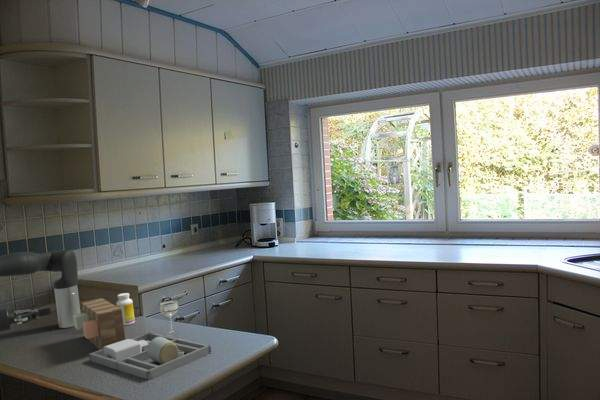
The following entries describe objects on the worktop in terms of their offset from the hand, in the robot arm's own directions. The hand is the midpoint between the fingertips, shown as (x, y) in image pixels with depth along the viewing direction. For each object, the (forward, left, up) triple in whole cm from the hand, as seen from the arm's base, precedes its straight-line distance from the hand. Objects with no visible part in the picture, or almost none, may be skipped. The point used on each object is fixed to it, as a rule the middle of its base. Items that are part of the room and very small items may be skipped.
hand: (50, 310), depth 175 cm
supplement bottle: (-17, +38, -18) cm, 45 cm away
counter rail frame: (+30, +18, -18) cm, 39 cm away
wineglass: (+15, +38, -18) cm, 44 cm away
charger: (+21, +17, -18) cm, 32 cm away
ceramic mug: (+39, +19, -18) cm, 47 cm away
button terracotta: (+3, +12, -12) cm, 18 cm away
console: (-3, +20, -18) cm, 27 cm away
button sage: (-12, +16, -12) cm, 24 cm away
